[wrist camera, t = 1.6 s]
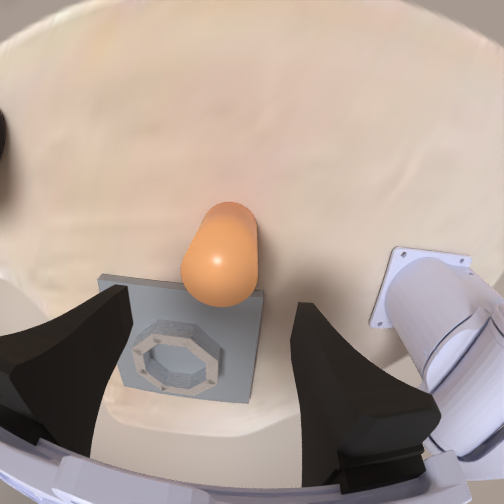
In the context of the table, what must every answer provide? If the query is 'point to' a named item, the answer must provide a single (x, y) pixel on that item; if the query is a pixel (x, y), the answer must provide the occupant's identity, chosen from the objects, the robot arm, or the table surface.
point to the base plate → (206, 318)
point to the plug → (223, 257)
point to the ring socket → (182, 337)
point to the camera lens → (2, 134)
